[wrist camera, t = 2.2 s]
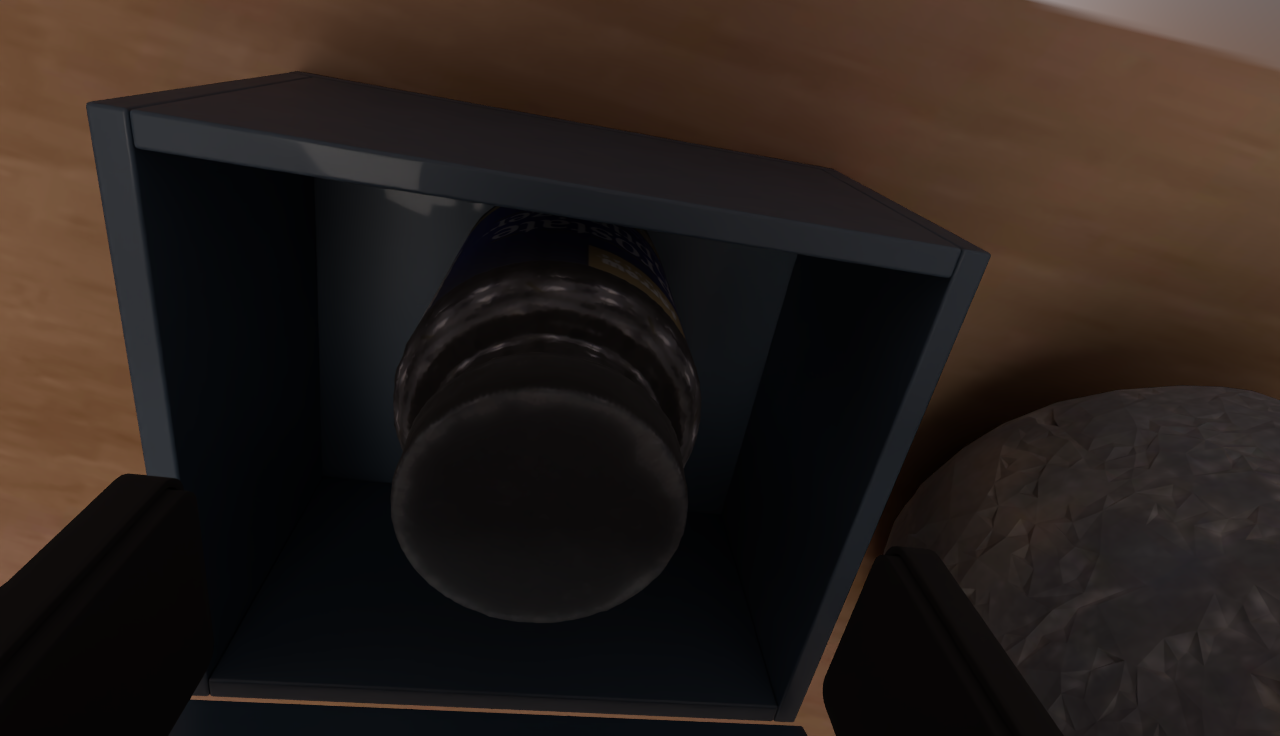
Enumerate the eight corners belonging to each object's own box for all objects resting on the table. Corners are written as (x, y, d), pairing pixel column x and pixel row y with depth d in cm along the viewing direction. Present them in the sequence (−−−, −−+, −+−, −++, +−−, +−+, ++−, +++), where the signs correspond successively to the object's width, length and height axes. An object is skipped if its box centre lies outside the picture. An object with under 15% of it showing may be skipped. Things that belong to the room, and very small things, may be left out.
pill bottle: (684, 206, 20) (791, 385, 10) (635, 387, 22) (682, 672, 12) (469, 158, 18) (348, 304, 9) (445, 354, 21) (330, 639, 11)
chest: (296, 70, 18) (82, 101, 10) (834, 168, 20) (993, 254, 12) (310, 478, 23) (181, 696, 16) (729, 517, 26) (794, 723, 18)
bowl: (874, 250, 21) (1374, 617, 8) (1344, 298, 24) (2341, 644, 10) (761, 647, 29) (918, 1170, 16) (1124, 654, 31) (1529, 1114, 18)
